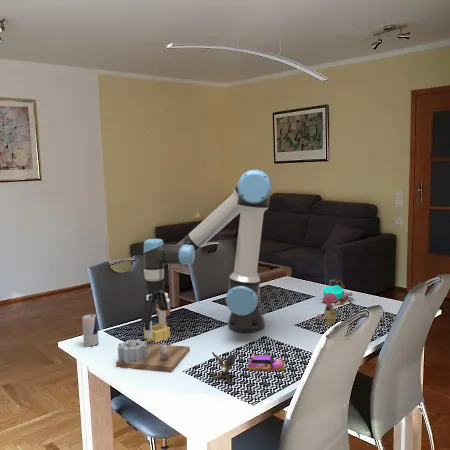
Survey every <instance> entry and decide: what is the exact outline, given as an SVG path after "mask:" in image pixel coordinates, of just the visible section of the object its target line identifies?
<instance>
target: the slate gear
mask: <svg viewBox="0 0 450 450" xmlns="http://www.w3.org/2000/svg"><path fill="white" fill-rule="evenodd" d="M130 342H136V346H135V347H129V343H130ZM147 344H148V341H147V340H144V341H142V340H141V339H139V338H138V339H134V340H133V339H132V340H131V339H127V340H126V341H125V342H120V343H118V346H117V359H118V360H119V361H121V360H123V361H125V363H129V362H134V361H136V362H140V360H141V359H146V358H147V354H148V352H147ZM118 360H117V361H118Z"/></svg>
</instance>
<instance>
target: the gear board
mask: <svg viewBox="0 0 450 450" xmlns="http://www.w3.org/2000/svg"><path fill="white" fill-rule="evenodd" d="M135 346H136V342H130V343H129V347H135ZM190 350H191V349H190V346H188V345H187V346H186V345H185V346H184V345H171V344H167V343H162V344H159V343H158V344H156V343H147V352H148V354H147V358H146V359H141V360H140V362H136V361H134V362H129V363H125V361H123V360H121V361H119V360H117V361H116V362H115V366H116V367H115V368H117V367H120V368H119V369H128V368H131V369H130V370H139V371H140V370H141V371H149V372H150V371H151V372H159V373H160V372H161V373H173V371H174V370H175V369H177V367H178V366H179V365H180V363H181V362H182V361H183V360H184V358H186V356H187V355H188V353H190Z"/></svg>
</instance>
